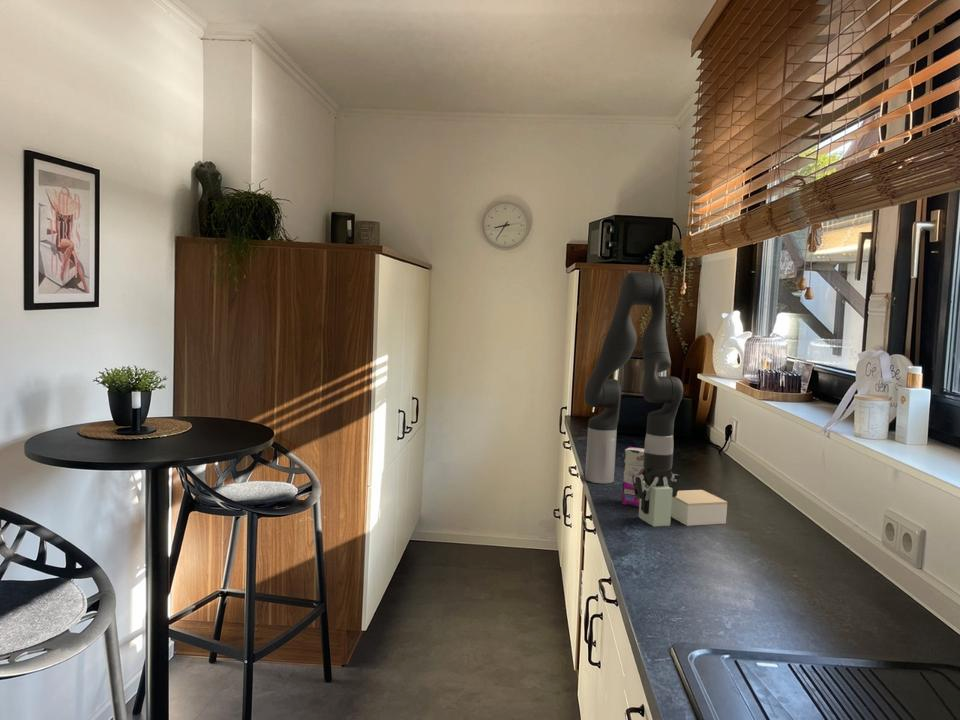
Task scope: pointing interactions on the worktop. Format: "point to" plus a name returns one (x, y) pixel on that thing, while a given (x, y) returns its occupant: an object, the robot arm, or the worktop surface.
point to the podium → (698, 508)
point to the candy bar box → (631, 474)
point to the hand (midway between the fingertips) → (654, 512)
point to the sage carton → (658, 506)
